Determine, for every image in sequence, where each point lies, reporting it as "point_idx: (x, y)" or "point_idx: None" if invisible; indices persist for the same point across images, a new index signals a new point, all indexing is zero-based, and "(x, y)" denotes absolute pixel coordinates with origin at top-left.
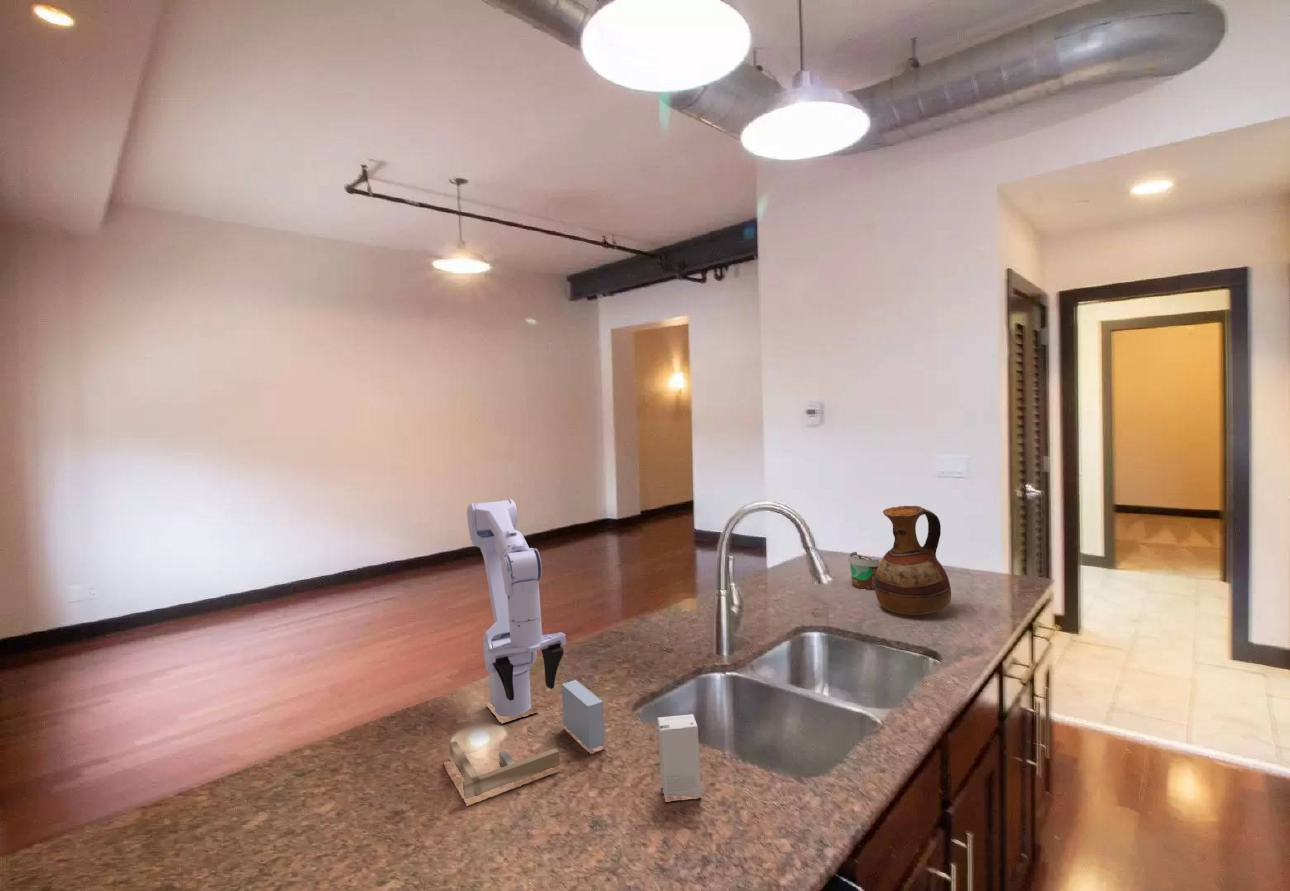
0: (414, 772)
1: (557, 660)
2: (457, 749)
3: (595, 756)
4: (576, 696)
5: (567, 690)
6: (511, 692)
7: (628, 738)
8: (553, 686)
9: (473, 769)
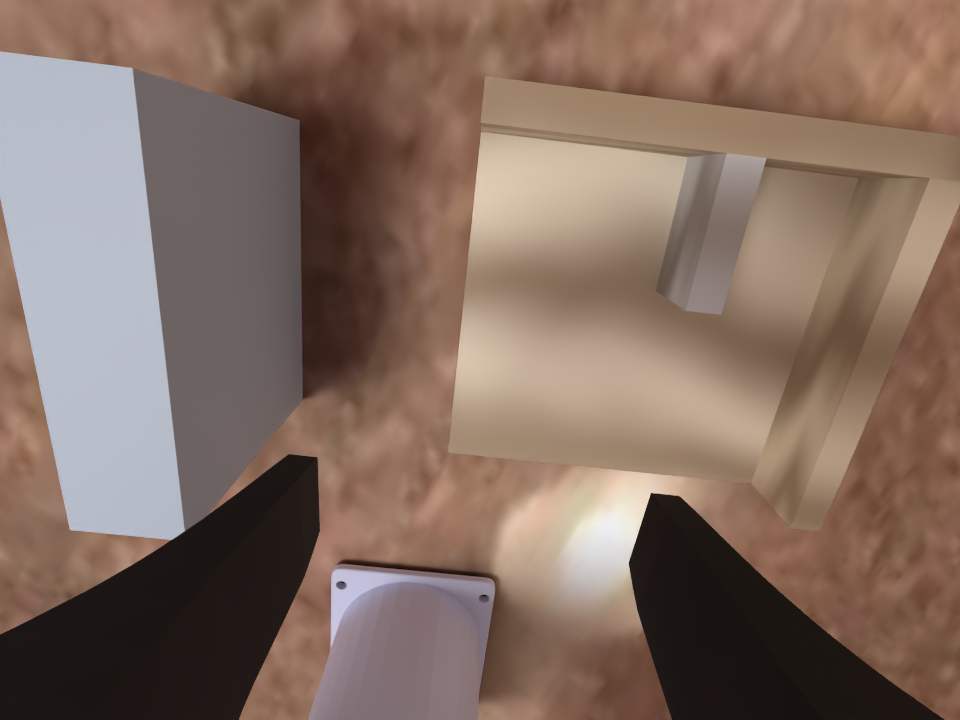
0: (888, 506)
1: (20, 656)
2: (833, 463)
3: (282, 89)
4: (157, 307)
5: (182, 450)
6: (706, 535)
7: None
8: (283, 460)
9: (905, 252)
